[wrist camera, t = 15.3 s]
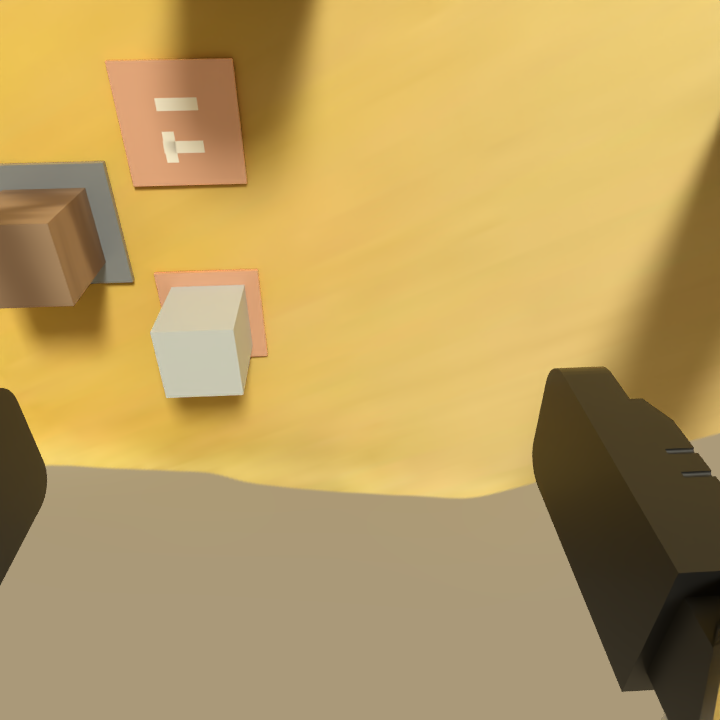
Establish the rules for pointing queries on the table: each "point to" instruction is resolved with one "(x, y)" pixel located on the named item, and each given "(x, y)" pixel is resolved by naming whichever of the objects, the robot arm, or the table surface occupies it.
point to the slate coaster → (99, 198)
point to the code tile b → (216, 279)
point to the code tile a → (179, 120)
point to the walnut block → (47, 247)
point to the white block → (203, 341)
